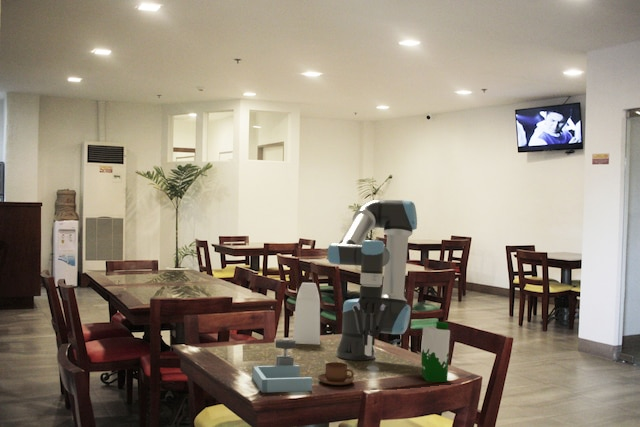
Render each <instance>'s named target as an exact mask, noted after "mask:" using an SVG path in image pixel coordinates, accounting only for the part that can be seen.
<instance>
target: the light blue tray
mask: <svg viewBox="0 0 640 427" xmlns="http://www.w3.org/2000/svg"><path fill="white" fill-rule="evenodd" d="M275 358H276V361H275V365H253V366H252V371H251V372H252V373H251V374H252V376H251V378H252V380H253V381H254V383H255V384H256V386H257V387H258V389H259V391H261V393H263V394H264V393H285V392H286V393H287V392H288V393H289V392H293V393H294V392H312V391H313V377H312V376H311V377H310V376H304V377H303V376H302V377H300V370H301V368H300V367H301V366H300V365H299V364H294V357H292V355H291V354H288V355H286V356H284V354H283V355H282V354H281V355H280V354H279V355H276V357H275Z"/></svg>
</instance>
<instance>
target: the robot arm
mask: <svg viewBox="0 0 640 427" xmlns="http://www.w3.org/2000/svg"><path fill="white" fill-rule="evenodd" d="M352 215H353V216H352V222H351V223H350V225H349V226H348V228H347V230H346V231H345V233H344V234H343V236H342V238H341V240H340V241H339V243H337V242H336V243H330V244H329V246H328V249H327V261H328V263H330V264H333V265H338V266H340V265H342V266H343V265H344V266H358V267H359V266H360V279H359V281H360V282H359V284H360V286H359V298H352V299H347V300H345V301H344V303H343V306H342V308H343V310H342V320H341V321H342V326H341V339H340V341H339V344H338V346H337V349H336V357H338V358H340V359H343V360H344V359H345V360H350V361H370V360H373V359H374V358H375V349H374V345H375V343H376V342H375V340H376V338H375V337H376V336H377V335H380V334H391V335H403V334H405V332H406V331H407V329H408V327H409V323H410V318H411V312H412V311H411V309H412V308H411V306H410V304H408V300H407V299H406V298H405V295H404V294H405V284H406V283H405V282H406V271H407V270H406V269H407V257H408V244H409V243H408V242H409V237H410V236H412V235H413V231H414V230H417V229H418V228H417V227H418V217H417V216H418V215H417V210H416V204H415V203H414V202H413V201H411V200H404V199H400V200H399V199H397V200H396V199H393V200H392V199H375V200H371V201H368V202H367V203H364V204H363V205H362V206H359V207H358V208H357V209H356V210H355V212H354V214H352ZM375 228H377V229H379V228H380V229H381V228H382V229H383V233H384V234H385V235H386V244H384V241H382V240H373V239H372V240H369V239H366V236H367V235H368V233H369V232H370V231H372V229H375ZM385 245H386V246H385Z"/></svg>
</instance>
